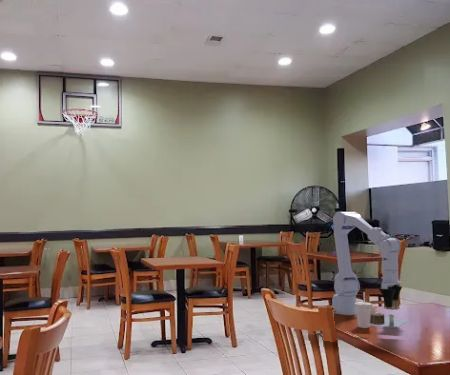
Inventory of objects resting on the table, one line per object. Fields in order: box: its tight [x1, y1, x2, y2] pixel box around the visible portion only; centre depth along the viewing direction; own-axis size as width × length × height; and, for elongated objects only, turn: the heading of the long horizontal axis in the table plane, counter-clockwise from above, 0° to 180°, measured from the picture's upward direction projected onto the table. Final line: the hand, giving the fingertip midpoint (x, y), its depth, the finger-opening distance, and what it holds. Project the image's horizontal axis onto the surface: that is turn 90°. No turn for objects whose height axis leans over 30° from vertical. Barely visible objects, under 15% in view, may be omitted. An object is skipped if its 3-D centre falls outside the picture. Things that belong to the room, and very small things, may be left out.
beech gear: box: [383, 300, 400, 311], centre depth 182 cm, size 5×5×3 cm
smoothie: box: [354, 291, 373, 329], centre depth 178 cm, size 6×6×14 cm
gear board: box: [370, 312, 410, 329], centre depth 186 cm, size 12×18×5 cm, turn 142°
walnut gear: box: [370, 312, 385, 324], centre depth 185 cm, size 5×5×3 cm
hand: (391, 306), depth 182 cm, fingers closed on beech gear, 5 cm apart
